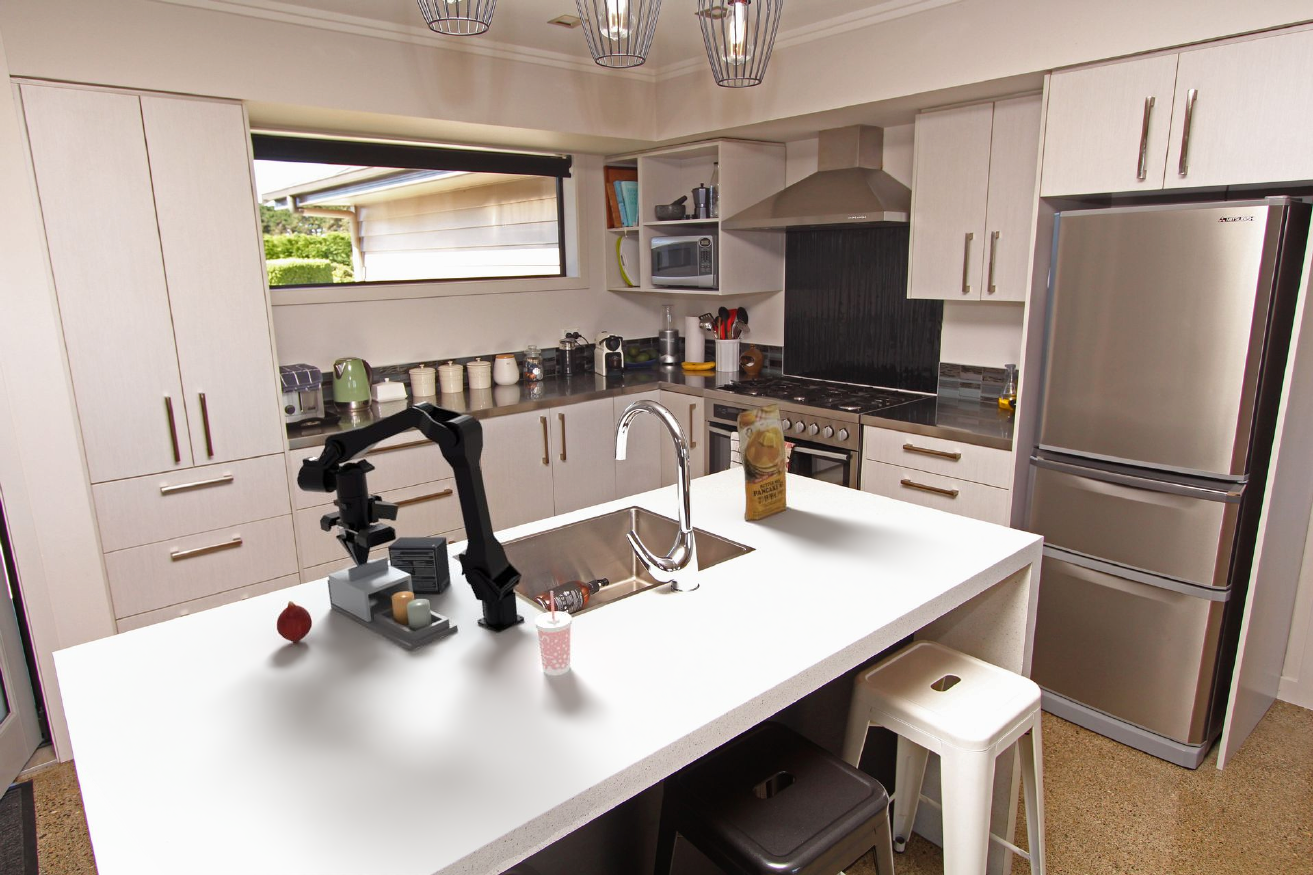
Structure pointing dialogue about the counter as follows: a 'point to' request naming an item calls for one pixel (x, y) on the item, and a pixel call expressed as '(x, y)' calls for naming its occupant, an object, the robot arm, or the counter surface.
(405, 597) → the orange rounded tapered piece
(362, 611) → the lid
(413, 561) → the small box
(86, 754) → the counter surface
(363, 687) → the counter surface
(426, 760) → the counter surface
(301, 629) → the onion
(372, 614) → the housing
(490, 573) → the robot arm
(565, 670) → the beverage cup
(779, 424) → the pancake mix bag
